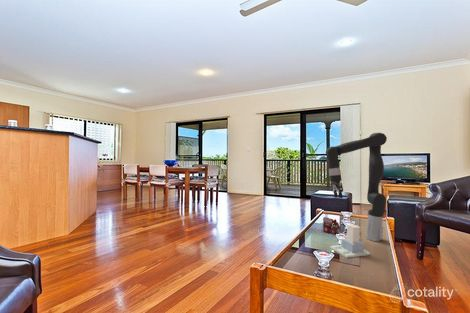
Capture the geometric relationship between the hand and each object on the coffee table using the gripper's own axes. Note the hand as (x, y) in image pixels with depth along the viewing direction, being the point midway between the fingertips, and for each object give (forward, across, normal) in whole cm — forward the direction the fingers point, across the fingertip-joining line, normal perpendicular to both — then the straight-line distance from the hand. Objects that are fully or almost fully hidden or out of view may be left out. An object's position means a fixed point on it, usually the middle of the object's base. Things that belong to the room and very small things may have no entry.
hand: (338, 197), depth 175 cm
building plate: (+31, -18, +5) cm, 36 cm away
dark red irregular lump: (+26, +15, +4) cm, 31 cm away
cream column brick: (+25, -18, +2) cm, 32 cm away
